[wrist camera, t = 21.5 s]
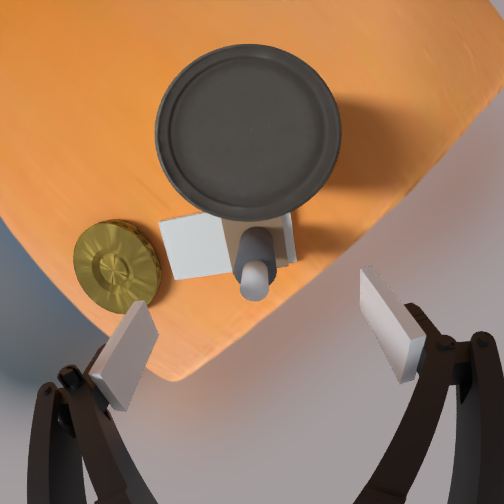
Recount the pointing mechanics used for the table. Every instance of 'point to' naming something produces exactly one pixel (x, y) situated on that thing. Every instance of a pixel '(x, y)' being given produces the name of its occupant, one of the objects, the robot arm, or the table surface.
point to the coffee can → (248, 132)
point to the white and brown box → (218, 243)
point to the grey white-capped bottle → (255, 263)
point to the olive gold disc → (116, 265)
